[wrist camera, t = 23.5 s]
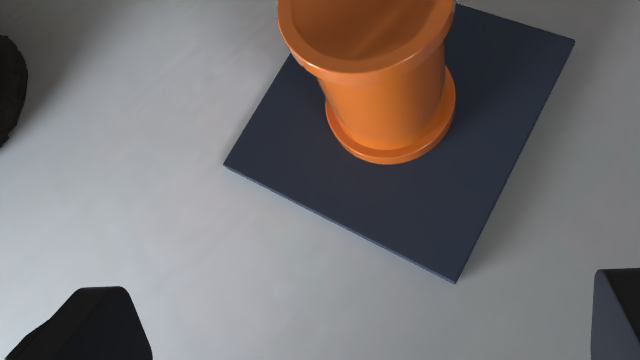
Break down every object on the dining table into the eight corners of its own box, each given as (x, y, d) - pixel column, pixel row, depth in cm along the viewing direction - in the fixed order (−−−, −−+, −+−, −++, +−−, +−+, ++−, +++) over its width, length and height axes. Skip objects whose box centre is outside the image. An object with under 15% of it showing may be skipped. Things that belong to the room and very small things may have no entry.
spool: (450, 43, 25) (448, -94, 17) (460, 159, 23) (463, 61, 15) (328, 58, 26) (278, -62, 19) (329, 170, 24) (273, 84, 17)
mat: (573, 45, 24) (575, 39, 23) (455, 285, 22) (455, 283, 21) (343, -26, 28) (341, -33, 27) (226, 167, 26) (222, 164, 25)
